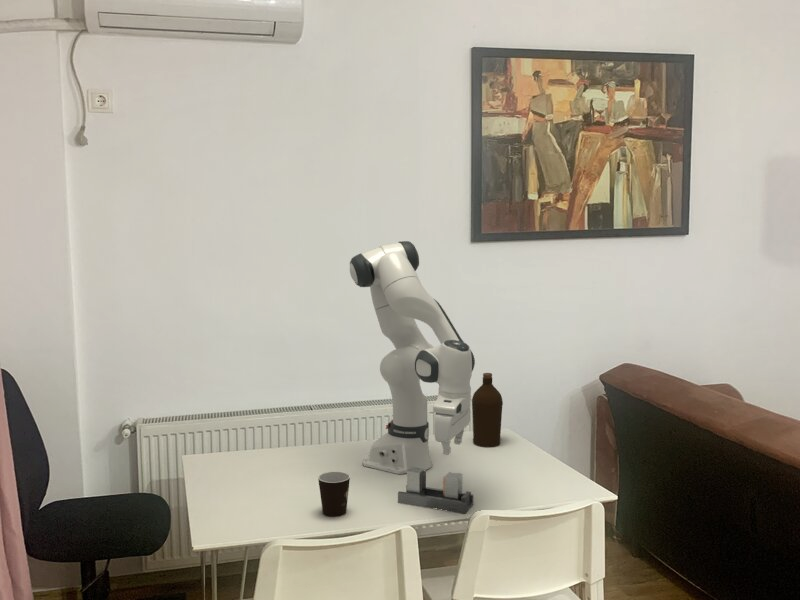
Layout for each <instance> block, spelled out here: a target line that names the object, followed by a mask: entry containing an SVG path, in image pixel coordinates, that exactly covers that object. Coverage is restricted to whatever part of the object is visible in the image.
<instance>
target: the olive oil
mask: <svg viewBox="0 0 800 600" xmlns="http://www.w3.org/2000/svg"><path fill="white" fill-rule="evenodd" d="M503 405H504V403H503V397H502V394H501V393H500V391H499V390H498V389H497V388H496V387H495V386H494V384H493V374H492V373H491V372H484V373H482V384H481V385H480V386H479V387H478V388H477V389H476V390H475V391H474V393H473V395H472V399H471V408H472V411H471V412H472V433H473V434H472V436H473V437H472V441H473V442H472V443H473V444H474V445H475V446H478V447H480V448H481V447H482V448H494V447H495V448H496V447H498V446H500V445H501V433H502V432H501V431H502V413H503Z"/></svg>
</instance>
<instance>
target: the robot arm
mask: <svg viewBox="0 0 800 600" xmlns="http://www.w3.org/2000/svg"><path fill="white" fill-rule="evenodd" d="M419 266H420V255H419V252H418V250H417V248H416V246H415V244H414V243H412V242H411V241H410V240H409V241H408V240H405V241H404V240H402V241H398V242H396V243H389V244H384V245H382V246H381V245H380V246H378V247H377V248H373V249H370V250H367V251H366V252H363V253H359V254H356V255H354V256H353V257H351V259H350V261H349V274H350V277H351V279H352V281H353V282H354V283H355V285H356V286H358V287H360V288H369V289H370V295H371V301H372V305H373V308H374V312H375V316H376V318H377V321H378V324H379V327H380V330H381V333H382V334H383V335H384V336H385V337H386V338H387V339H388V340H389V341H390V342H391V343H392V345H393V346H394V348H395V349H394V350H392V351H390V352H388V354H386V355H385V356H384V357H383V358H382V359H381V361H380V364H379V372H380V375H381V376H382V378H383V380H384V381H385V382H386V383H387V384H388V387H389V390H390V394H391V399H392V419H391V420H390V422H388V423H387V425H385V430H387V432H386V433H385V434H384V435H382V436H380V437H379V438H378V439H377V440H375V441H374V442H372V443H373V444H372V445H371V448H370V452H369V454H368V455H367V456H366V457H365V458H364V459H363V460H362V465H364V466H363V467H367V468H372V469H376V470H380V471H384V472H387V473H393V474H397V475H403V474H407V471H408V470H409V469H410V468H411V467H416V468H423V469H425V471H426V470H429V469H431V468H432V467H433V462H432V459H431V454H430V449H429V448H430V447H429V437H430V426H429V425H430V424H429V422H428V399H427V396H426V395H425V394H424V393H423V390H422V387H421V381H422V382H423V383H431V384H432V383H436V384H438V395H437V399H436V400H435V402H434V403H433V407H432V408H433V409H432V411H433V413H435V414H434V418H433V419H434V421H433V422H434V423H433V425H434V426H433V427H434V429H433V430H434V434H433V435H434V440H435V441H436V442H438V443H441V447H442V454H443V455H444V456H445V455H446V456H449V455H450V454H451V453H452V447H451V444H450V443H451V440H453V439H454V441H453V443H454V445H461V444H462V443H463V436H464V432H465V428H467V427H468V426H469V424H470V421H471V403H472V399H471V396H472V387H471V379H472V374H473V371H474V368H475V365H476V362H475V361H476V360H475V355H474V353H473V351H472V349H471V347H470V346H469V345H468V344H467V343H465V341H464V340H463V339H462V338H461V336H460V334H459V332H458V330H457V329H456V328H455V326H454V324H453V323H452V321H451V320H450V317H449V316H448V314H447V313H446V311H445V310H444V308H443V307H442V305H441V304H440V302H438V301H437V300H436V299H435V298H433V296H431V295H430V294H429V293H428V291H427V290H426V289H425V288H424V286H423V285H422V283H421V281H420V279H419V276H418V274H417V272H416V271H417V269H418V268H419ZM416 320H418V321H420V322H422V323H425V324H426V325H428V326H429V328H431V329H432V331H433V333H434V335H435V336H436V338H437V339H438V341H439V343H440V345H437V346H435V347H434V346H433V345H432V344H430V343H429V342H428V340H427V339H426V338H425V336H424V335H423V333H422V331H421V330H420V328H419V327H418V325H417V322H416Z"/></svg>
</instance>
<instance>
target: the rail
mask: <svg viewBox="0 0 800 600" xmlns="http://www.w3.org/2000/svg"><path fill="white" fill-rule="evenodd" d="M405 487H406V489H405V491H398V492H397V503H398V504H402V503H403V504H404V505H408V504H409V506H415V505H416V506H415V507H421V506H422V508H427V507H429V508H428V509H433V508H437V509H436V510H439V509H442V510H441V511H445V510H447V511H446V512H451V511H452V513H459V514H464V515H465V514H467V513H468V512H469V510H470V509H471V508H472V507H473V506H474V494H473V493H472V491H466V492H462V497H461V501H457V500H451V499H445V495H443V489H440V488H433V487H428V486H427V471H426V470H425V469H423V468H416V467H411V468H410V469H409V470H408V471H407V473H406V485H405Z"/></svg>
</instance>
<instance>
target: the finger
mask: <svg viewBox="0 0 800 600" xmlns="http://www.w3.org/2000/svg"><path fill="white" fill-rule="evenodd" d="M442 487H443V488H442V490H443V495H445V499H451V500H457V501H461V497H462V493H463V473H457V472H451V471H450V472H449V471H448V473H446V474H445V475H444V476H443V478H442Z"/></svg>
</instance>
